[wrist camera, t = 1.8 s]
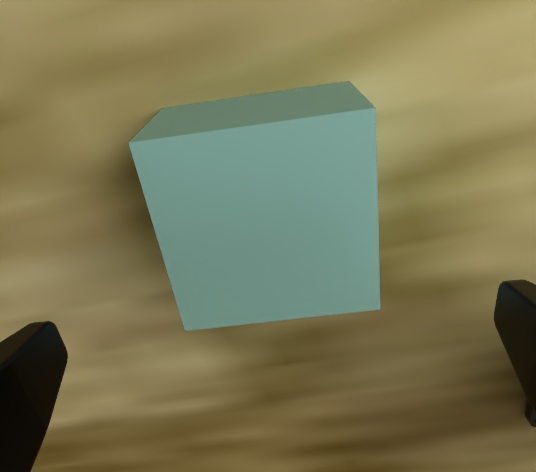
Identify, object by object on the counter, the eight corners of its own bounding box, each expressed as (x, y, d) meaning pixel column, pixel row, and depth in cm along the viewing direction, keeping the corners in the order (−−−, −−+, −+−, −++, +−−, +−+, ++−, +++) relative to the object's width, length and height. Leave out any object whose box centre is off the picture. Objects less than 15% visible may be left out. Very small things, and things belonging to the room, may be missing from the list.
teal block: (356, 243, 17) (380, 309, 13) (202, 262, 17) (184, 330, 13) (348, 80, 14) (375, 107, 10) (163, 107, 14) (128, 143, 11)
